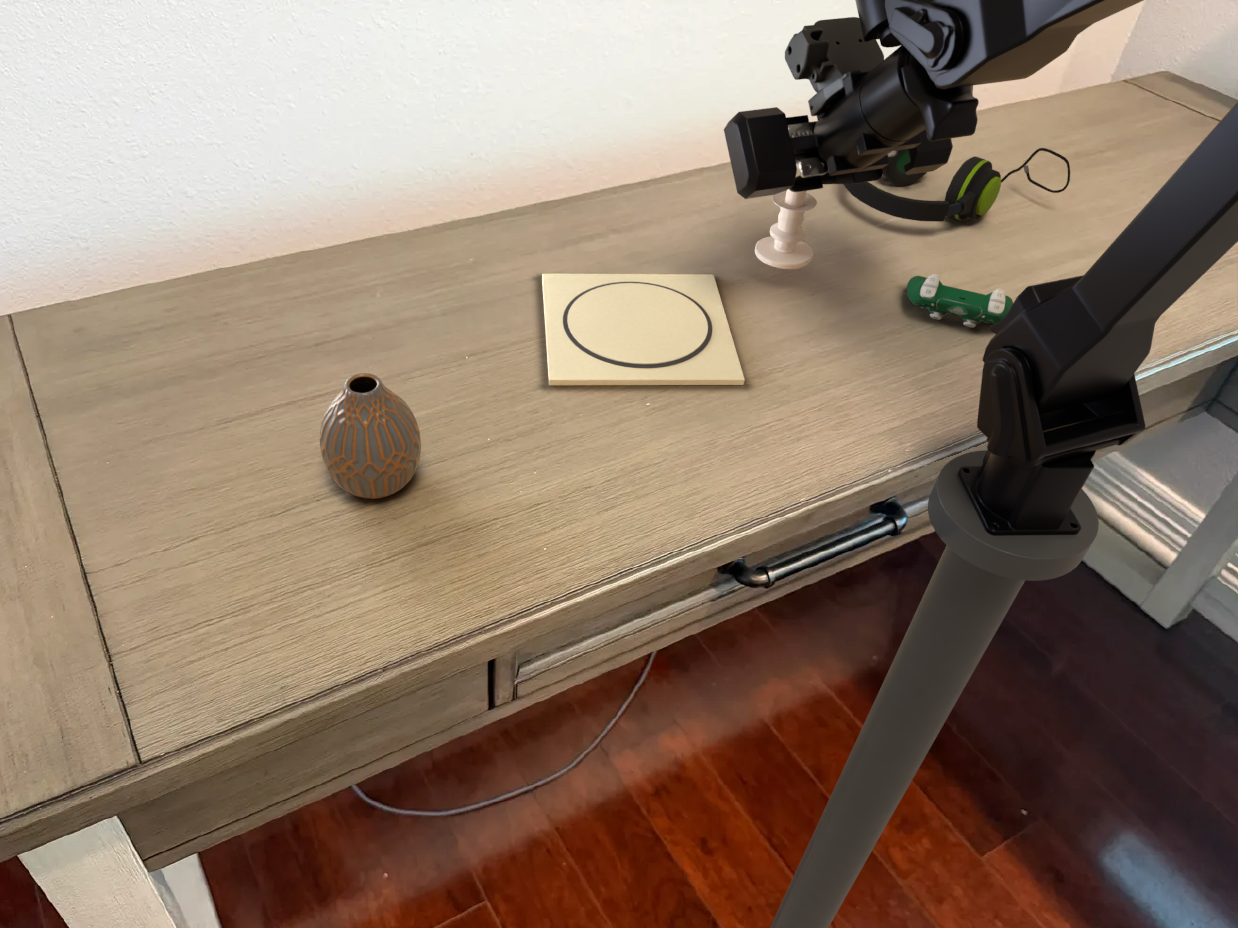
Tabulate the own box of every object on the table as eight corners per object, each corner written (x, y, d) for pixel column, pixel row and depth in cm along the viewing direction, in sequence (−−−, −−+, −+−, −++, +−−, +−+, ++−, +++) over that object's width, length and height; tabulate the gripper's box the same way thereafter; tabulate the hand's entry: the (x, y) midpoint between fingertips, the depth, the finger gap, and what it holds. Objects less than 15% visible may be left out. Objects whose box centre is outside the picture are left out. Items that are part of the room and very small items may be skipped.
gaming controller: (897, 317, 91) (903, 301, 86) (909, 277, 91) (916, 259, 85) (999, 341, 89) (1012, 327, 83) (1012, 301, 89) (1026, 284, 83)
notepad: (743, 385, 80) (745, 377, 80) (549, 385, 79) (549, 377, 79) (712, 279, 92) (714, 272, 91) (541, 279, 91) (542, 271, 90)
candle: (820, 267, 88) (847, 155, 81) (766, 271, 88) (788, 159, 80) (798, 238, 92) (822, 129, 85) (746, 242, 91) (766, 133, 84)
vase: (310, 471, 71) (291, 375, 65) (392, 436, 74) (382, 340, 68) (356, 527, 67) (341, 430, 61) (442, 487, 70) (435, 391, 64)
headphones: (1095, 125, 96) (953, 167, 88) (1056, 215, 103) (921, 262, 95) (970, 68, 105) (832, 102, 98) (942, 154, 112) (811, 192, 104)
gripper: (977, -17, 73) (861, 79, 88) (756, 3, 68) (673, 101, 83) (1008, 129, 74) (887, 200, 89) (790, 160, 69) (701, 229, 84)
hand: (789, 180), depth 86 cm, fingers closed on candle
